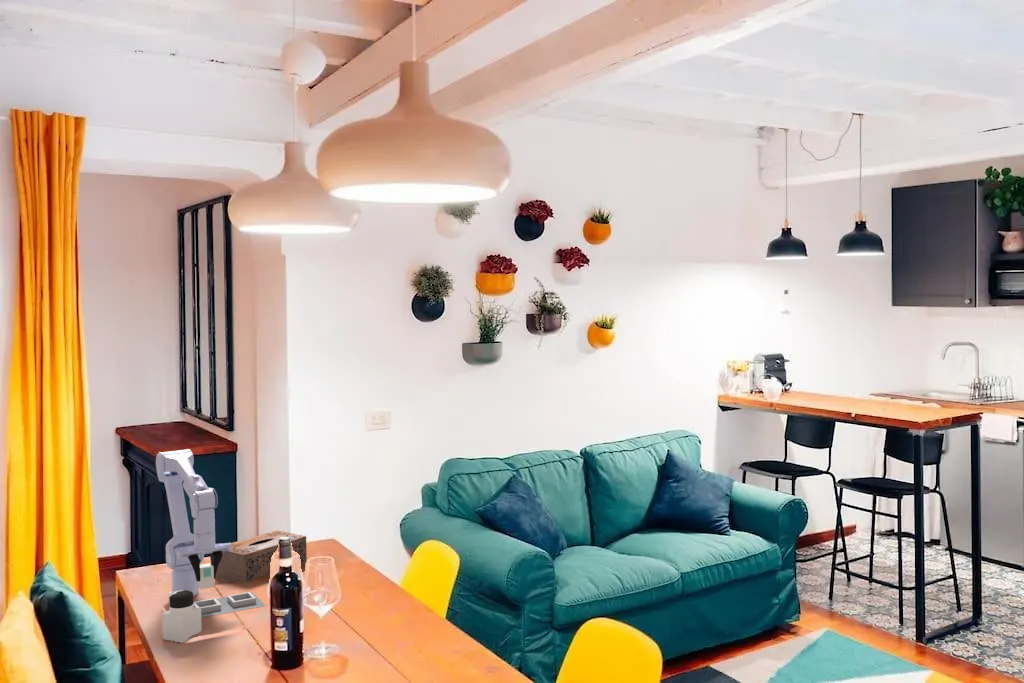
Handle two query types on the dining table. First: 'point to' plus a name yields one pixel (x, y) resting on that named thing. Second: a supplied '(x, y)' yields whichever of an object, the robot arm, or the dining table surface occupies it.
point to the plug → (206, 576)
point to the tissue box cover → (256, 556)
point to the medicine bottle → (181, 617)
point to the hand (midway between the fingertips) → (205, 579)
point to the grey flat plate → (228, 604)
